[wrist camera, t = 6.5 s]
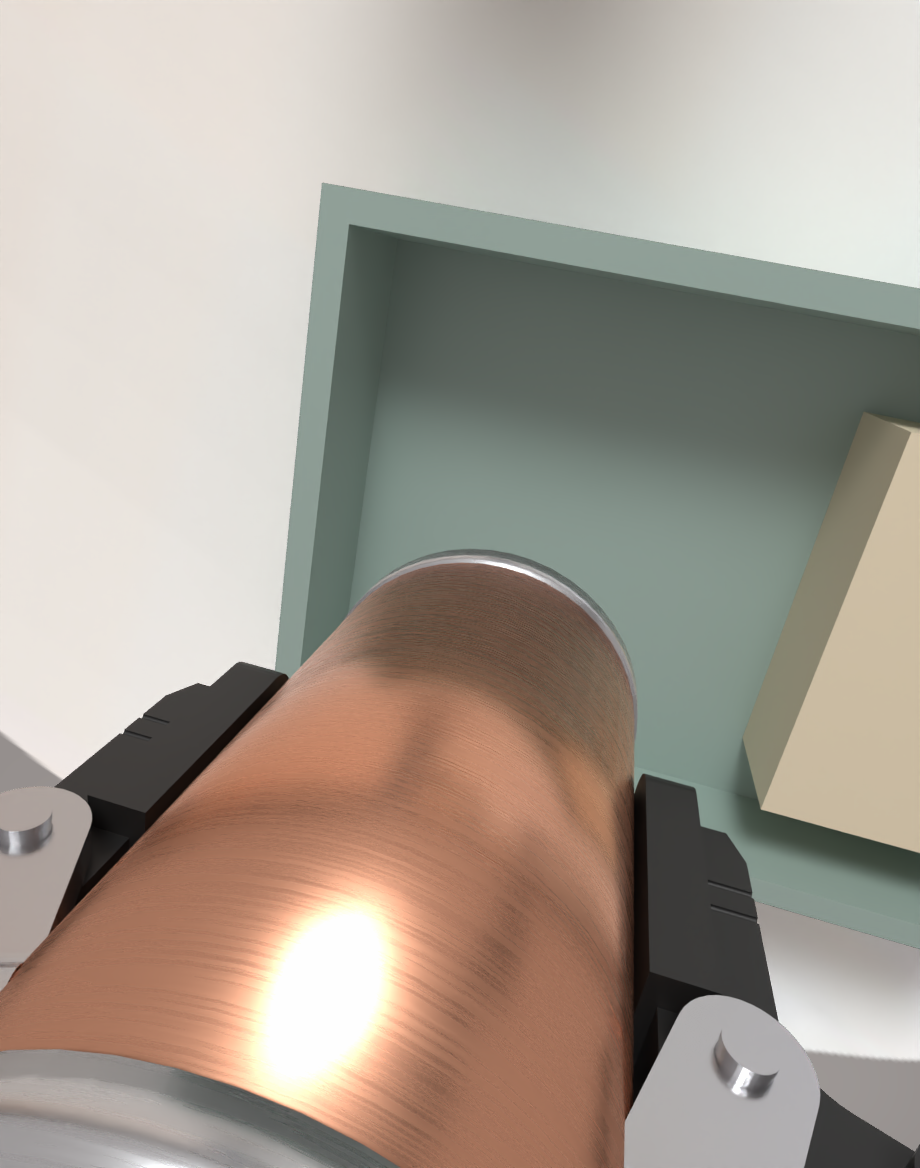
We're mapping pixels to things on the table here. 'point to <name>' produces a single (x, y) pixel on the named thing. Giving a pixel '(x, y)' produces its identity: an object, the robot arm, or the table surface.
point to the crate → (603, 469)
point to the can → (366, 912)
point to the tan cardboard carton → (852, 656)
